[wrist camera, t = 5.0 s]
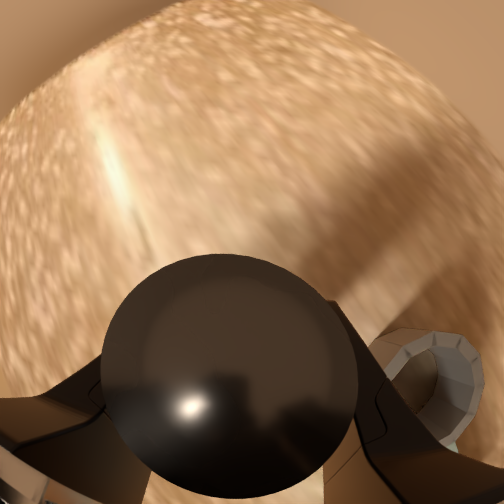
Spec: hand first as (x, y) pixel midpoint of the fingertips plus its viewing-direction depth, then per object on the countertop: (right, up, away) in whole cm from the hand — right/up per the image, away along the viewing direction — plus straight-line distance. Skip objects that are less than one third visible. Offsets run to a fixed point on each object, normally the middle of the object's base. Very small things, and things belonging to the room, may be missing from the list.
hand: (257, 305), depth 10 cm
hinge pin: (+1, -3, +6) cm, 7 cm away
